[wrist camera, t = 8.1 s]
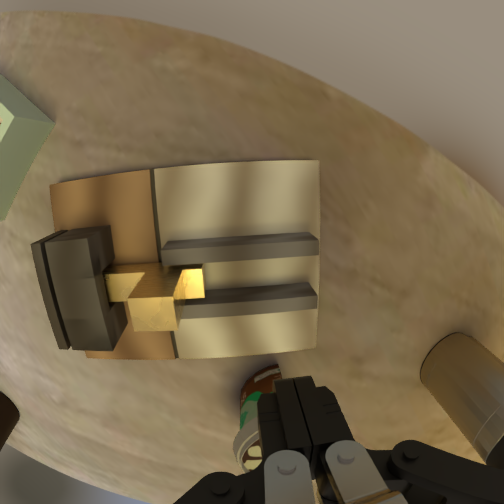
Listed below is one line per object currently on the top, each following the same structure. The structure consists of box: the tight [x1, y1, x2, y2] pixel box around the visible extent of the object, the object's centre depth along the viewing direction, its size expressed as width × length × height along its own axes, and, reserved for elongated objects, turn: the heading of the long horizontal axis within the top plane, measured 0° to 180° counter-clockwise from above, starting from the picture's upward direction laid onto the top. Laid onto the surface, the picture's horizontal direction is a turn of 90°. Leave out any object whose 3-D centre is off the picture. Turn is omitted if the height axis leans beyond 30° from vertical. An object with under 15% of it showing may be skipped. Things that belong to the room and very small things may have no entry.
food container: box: [233, 364, 282, 473], centre depth 28 cm, size 12×6×10 cm, turn 9°
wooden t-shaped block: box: [102, 262, 206, 332], centre depth 22 cm, size 12×2×7 cm, turn 92°
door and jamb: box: [31, 160, 320, 360], centre depth 25 cm, size 24×18×7 cm
